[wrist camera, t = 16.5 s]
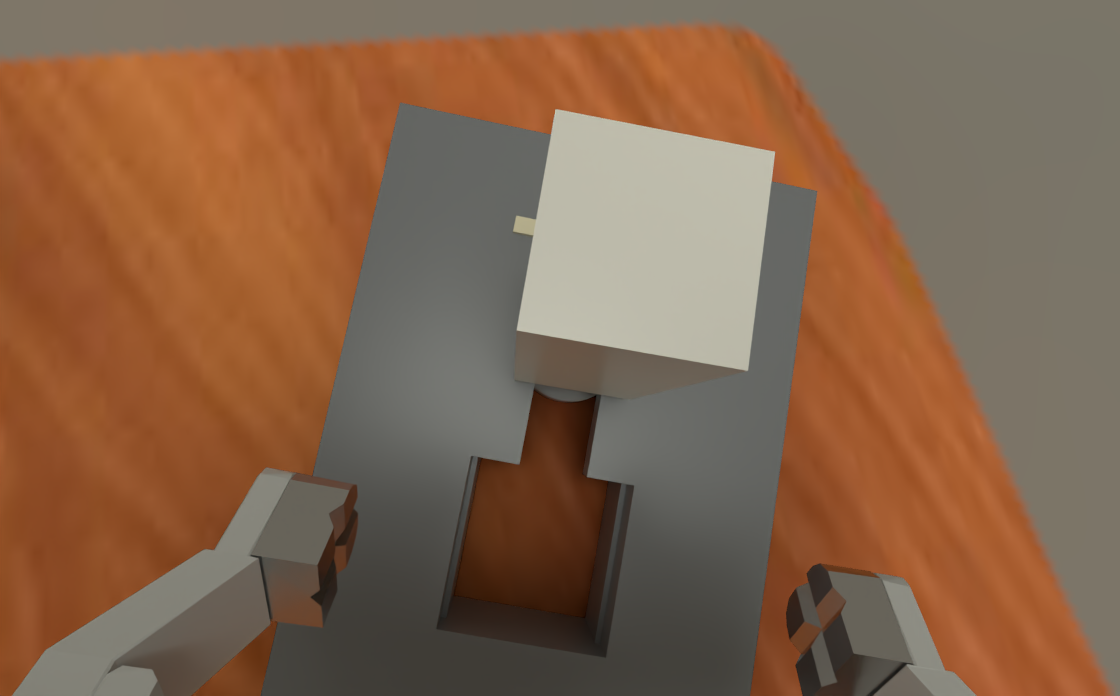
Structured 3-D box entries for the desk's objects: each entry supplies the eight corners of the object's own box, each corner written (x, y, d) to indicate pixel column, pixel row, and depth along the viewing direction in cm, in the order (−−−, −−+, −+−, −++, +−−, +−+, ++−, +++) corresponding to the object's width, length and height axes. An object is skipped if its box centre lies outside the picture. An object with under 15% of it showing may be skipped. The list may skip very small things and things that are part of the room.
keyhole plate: (695, 745, 25) (736, 814, 21) (297, 680, 24) (248, 738, 20) (770, 227, 28) (819, 189, 24) (417, 154, 28) (399, 100, 23)
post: (610, 410, 27) (757, 384, 11) (508, 393, 26) (503, 340, 10) (626, 310, 27) (787, 143, 11) (526, 292, 27) (546, 96, 11)
